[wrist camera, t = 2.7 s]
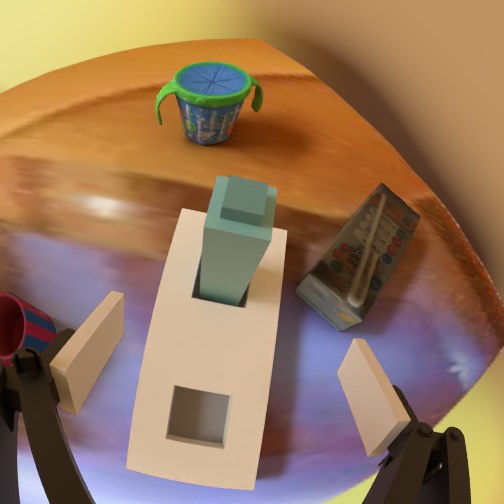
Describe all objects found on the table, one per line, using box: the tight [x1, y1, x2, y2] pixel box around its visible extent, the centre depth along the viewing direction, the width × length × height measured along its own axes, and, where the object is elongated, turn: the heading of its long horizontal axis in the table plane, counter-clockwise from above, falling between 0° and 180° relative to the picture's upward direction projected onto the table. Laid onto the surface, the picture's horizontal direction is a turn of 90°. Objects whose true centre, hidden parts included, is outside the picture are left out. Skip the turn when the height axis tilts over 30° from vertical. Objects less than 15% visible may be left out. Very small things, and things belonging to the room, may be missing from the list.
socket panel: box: [126, 208, 287, 490], centre depth 27 cm, size 12×28×3 cm, turn 172°
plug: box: [199, 175, 277, 307], centre depth 24 cm, size 4×4×16 cm
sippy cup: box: [155, 61, 263, 145], centre depth 37 cm, size 16×10×10 cm
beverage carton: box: [294, 183, 420, 332], centre depth 33 cm, size 8×19×7 cm, turn 138°
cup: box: [0, 292, 57, 366], centre depth 20 cm, size 7×10×7 cm
